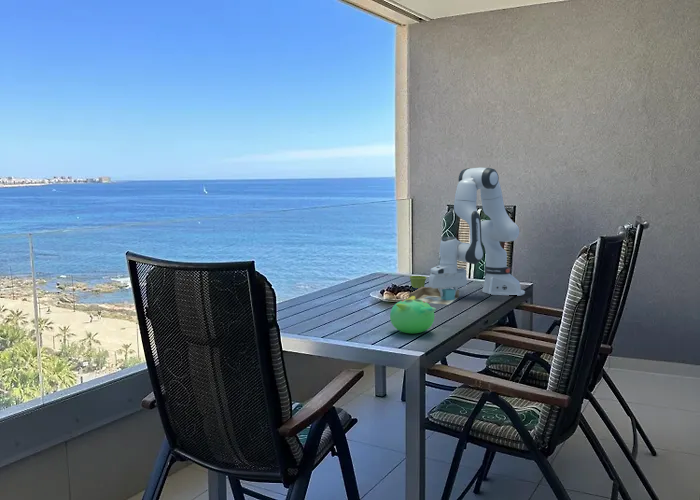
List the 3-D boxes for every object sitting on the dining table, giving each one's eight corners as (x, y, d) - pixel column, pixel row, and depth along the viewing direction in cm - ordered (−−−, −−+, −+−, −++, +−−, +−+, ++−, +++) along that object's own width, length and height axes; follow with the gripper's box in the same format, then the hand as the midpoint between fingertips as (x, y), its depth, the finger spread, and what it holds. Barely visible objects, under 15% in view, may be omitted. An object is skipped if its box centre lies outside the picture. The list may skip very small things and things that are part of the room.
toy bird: (430, 327, 268) (431, 293, 266) (437, 338, 251) (438, 301, 249) (388, 328, 267) (388, 293, 266) (392, 338, 251) (392, 301, 249)
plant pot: (426, 291, 350) (426, 275, 349) (426, 294, 341) (426, 278, 340) (409, 291, 351) (409, 275, 350) (409, 294, 342) (409, 278, 341)
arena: (459, 299, 328) (459, 289, 328) (448, 306, 310) (448, 296, 310) (422, 296, 336) (422, 286, 336) (409, 303, 318) (409, 293, 318)
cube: (449, 297, 327) (449, 288, 326) (454, 299, 322) (454, 289, 321) (441, 298, 325) (441, 288, 324) (445, 300, 320) (446, 290, 320)
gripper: (463, 267, 328) (462, 293, 330) (427, 269, 321) (427, 296, 323) (469, 268, 322) (468, 295, 324) (433, 271, 315) (433, 298, 317)
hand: (447, 295), depth 323 cm, fingers closed on cube, 5 cm apart
